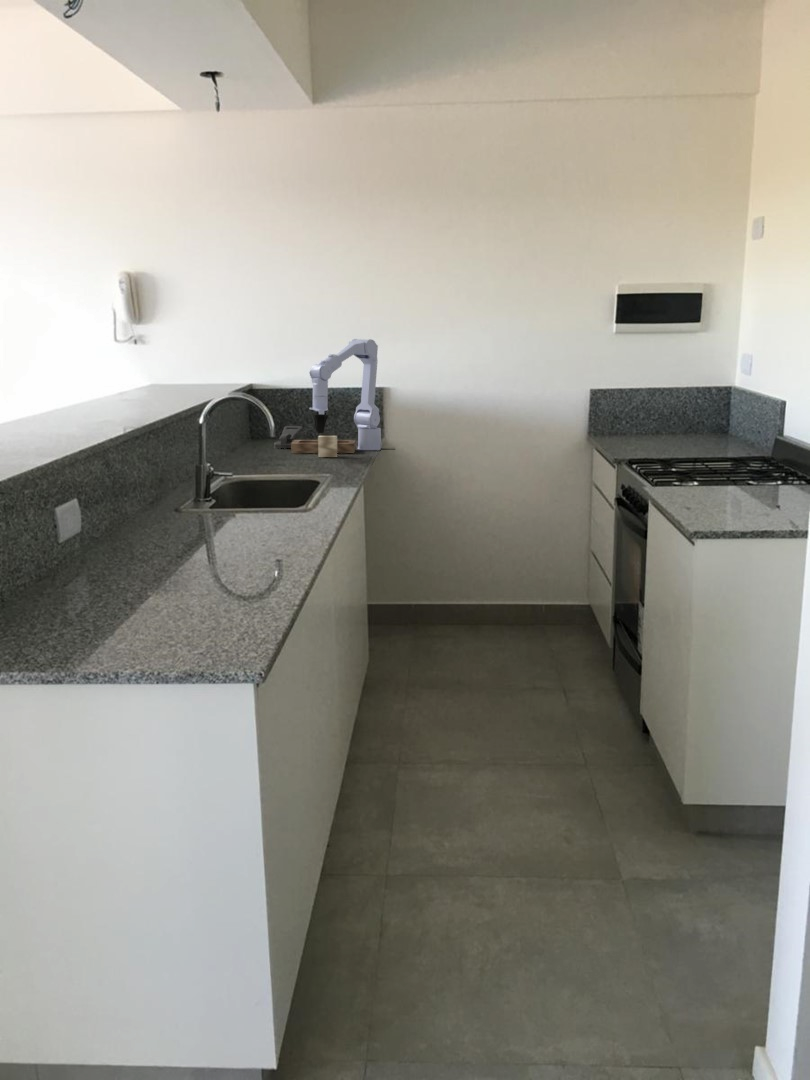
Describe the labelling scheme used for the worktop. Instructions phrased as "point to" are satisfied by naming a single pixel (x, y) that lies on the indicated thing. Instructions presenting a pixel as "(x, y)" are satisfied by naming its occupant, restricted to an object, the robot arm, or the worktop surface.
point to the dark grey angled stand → (287, 436)
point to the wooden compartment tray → (312, 446)
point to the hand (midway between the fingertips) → (319, 432)
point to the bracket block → (327, 446)
